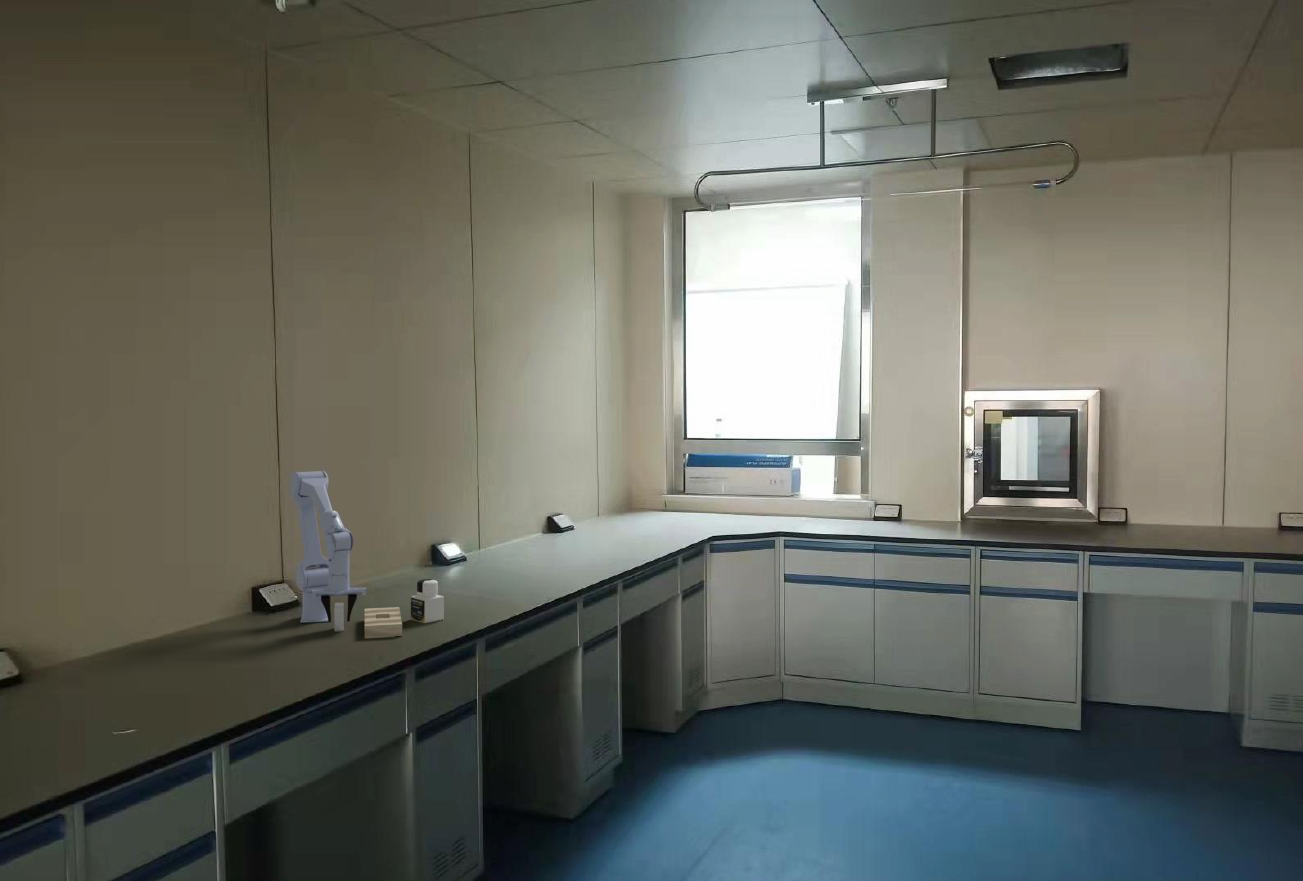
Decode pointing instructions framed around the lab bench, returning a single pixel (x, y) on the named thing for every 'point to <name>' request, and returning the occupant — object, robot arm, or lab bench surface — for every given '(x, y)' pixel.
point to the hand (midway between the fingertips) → (339, 621)
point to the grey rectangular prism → (339, 616)
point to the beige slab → (383, 622)
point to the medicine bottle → (427, 602)
